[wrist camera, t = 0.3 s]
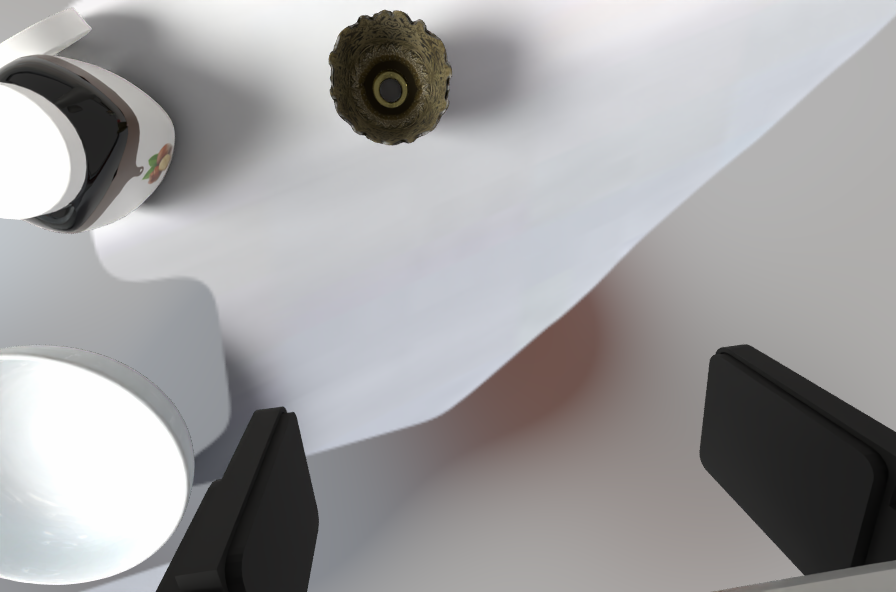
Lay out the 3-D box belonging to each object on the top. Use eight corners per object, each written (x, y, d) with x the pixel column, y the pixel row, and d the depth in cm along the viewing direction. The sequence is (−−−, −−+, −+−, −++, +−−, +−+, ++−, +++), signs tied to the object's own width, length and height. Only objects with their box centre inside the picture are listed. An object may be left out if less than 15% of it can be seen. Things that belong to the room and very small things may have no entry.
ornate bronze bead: (343, 26, 34) (330, -3, 27) (445, 43, 35) (459, 20, 28) (338, 135, 36) (324, 136, 29) (433, 148, 38) (443, 152, 30)
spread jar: (139, 230, 37) (35, 272, 26) (-16, 140, 34) (-209, 144, 23) (215, 98, 35) (134, 83, 24) (55, -13, 32) (-122, -89, 21)
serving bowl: (262, 461, 45) (241, 516, 39) (74, 553, 46) (22, 621, 40) (115, 276, 38) (59, 305, 32) (-104, 389, 39) (-202, 440, 33)
